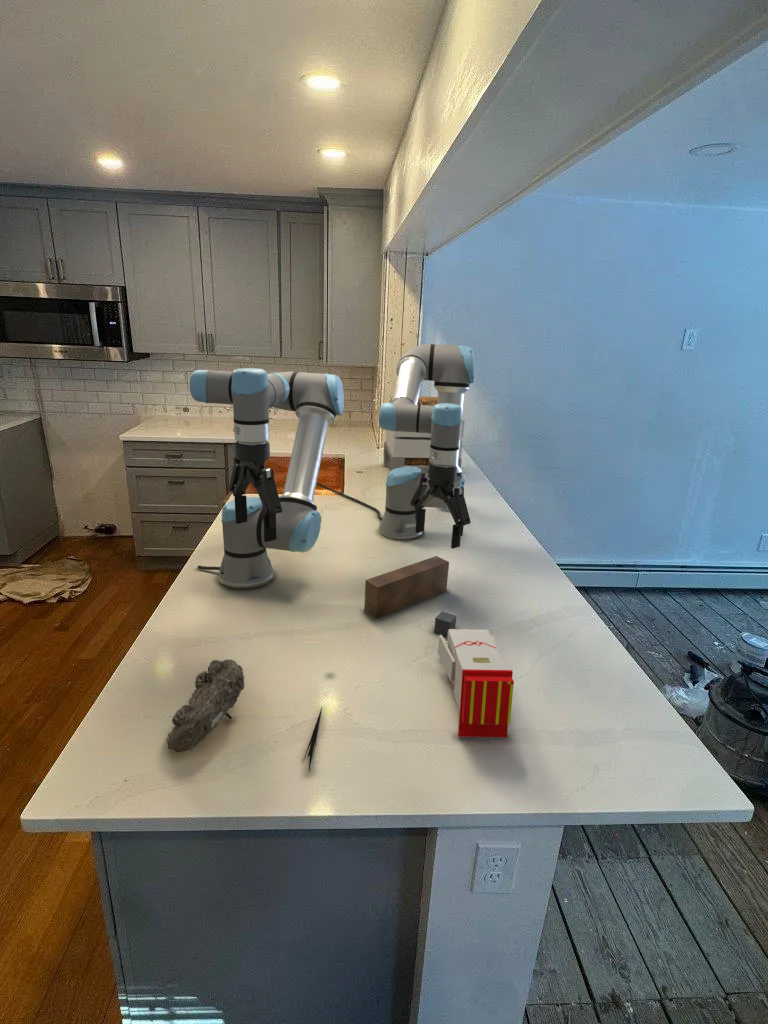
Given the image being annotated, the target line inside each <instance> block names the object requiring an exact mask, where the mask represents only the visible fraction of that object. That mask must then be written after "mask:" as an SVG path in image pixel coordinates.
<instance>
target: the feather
mask: <svg viewBox="0 0 768 1024" xmlns="http://www.w3.org/2000/svg"><path fill="white" fill-rule="evenodd" d="M329 675H330V676H331V675H332V674H331V673H330V674H329ZM322 710H323V707H321V708H320V710H319V713H318V716H317V719H316V723H315V725H314V728H313V731H312V733H311V737H310V739H309V742H308V745H307V748H306V751H305V754H304V757H303V760H302V763H301V767H302V765H303V763H304V761H305V758H308V759H309V760H308V762H307V763H308V764H307V766H308V771H310V770H311V766H312V765H311V764H312V760H313V757H315V756H314V755H315V751H316V749H315V746H317V739H318V733H319V729H320V722H321V717H322V712H323V711H322ZM313 754H314V755H313ZM306 755H307V757H306Z"/></svg>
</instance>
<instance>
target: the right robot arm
mask: <svg viewBox="0 0 768 1024" xmlns="http://www.w3.org/2000/svg"><path fill="white" fill-rule="evenodd" d="M474 356H475V355H474V350H473V348H472V347H470V346H467V345H460V344H438V343H437V344H436V343H435V344H434V343H433V344H432V343H423V344H419V345H416V346H413V347H412V348H410V349H408V350H407V351H406V352H405V353H404V354H403V355H402V356H401V357H400V358H399V360H398V362H397V365H396V369H395V372H396V376H397V377H396V380H395V385H394V388H393V392H392V395H391V398H392V399H391V398H390V400H391V402H383V403H382V404H381V405H380V408H379V418H378V419H379V421H378V423H379V424H378V425H379V427H380V429H381V430H382V431H386V430H389V431H394V432H395V431H401V432H417V433H431V444H430V456H429V462H430V464H429V465H428V466H427V472H422V469H421V468H420V467H419V466H418V467H417V466H404V467H400V468H396V469H393V470H391V471H390V470H389V471H388V473H387V475H386V482H385V487H386V488H385V504H384V505H385V507H384V508H385V509H384V513H383V515H382V516H381V512H380V510H379V509H377V508H376V507H374V506H372V505H370V504H368V503H365V502H364V501H361V500H359V499H357V498H354V497H352V496H350V495H347V494H345V493H342V492H340V491H338V490H335V489H333V488H331V487H328V486H327V485H324V484H322V483H320V482H318V481H317V484H316V486H319V487H321V488H324V489H325V490H328V491H330V492H332V493H335V494H337V495H339V496H342V497H344V498H346V499H349V500H351V501H354V502H355V503H358V504H359V505H362V506H365V507H366V508H368V509H371V510H373V511H375V512H376V513H377V518H378V519H379V520H380V521H381V522H379V527H378V533H379V534H380V535H381V536H382V537H385V538H387V539H389V540H395V541H410V540H415V539H418V538H420V537H421V536H422V535H423V532H425V526H426V525H425V523H426V509H425V508H433V509H442V508H444V509H449V511H448V512H449V513H450V515H451V517H452V519H453V522H454V523H455V524H452V531H451V543H450V549H452V550H454V549H457V548H460V547H461V540H462V539H461V538H462V537H463V535H464V526H468V525H470V524H471V523H472V521H471V517H470V514H469V510H468V505H467V502H466V498H465V483H466V476H465V475H463V474H462V472H463V470H462V468H461V469H460V468H459V467H458V457H459V446H460V439H461V438H460V434H461V423H462V419H463V410H464V399H465V393H466V392H467V391H469V389H470V384H474V383H475V358H474ZM423 381H430V382H433V387H434V389H435V391H437V397H438V400H437V404H436V405H435V406H428V405H417V402H418V397H420V391H421V386H422V382H423Z"/></svg>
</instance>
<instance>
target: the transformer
mask: <svg viewBox="0 0 768 1024" xmlns="http://www.w3.org/2000/svg"><path fill="white" fill-rule="evenodd" d="M391 399H392V397H391V398H390V400H389V402H391ZM437 400H438V396H419V397H418V402H417V405H428V406H435V405H436V404H437ZM389 402H388V403H389ZM464 429H465V419H464V418H462V423H461V434H460V446H459V457H458V467H459V468H460V469H461V470H462V461H463V460H462V453H463V442H464V441H463V440H462V439H463V438H464V431H465V430H464ZM430 444H431V433H417V432H401V431H395V432H394V431H389V430H385V438H384V442H383V466H384V467H388V468H389V472H390V471H391V470H393V469H396V468H400V467H405V466H406V467H417V466H418V467H429V464H430V462H429V456H430Z"/></svg>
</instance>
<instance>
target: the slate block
mask: <svg viewBox="0 0 768 1024" xmlns="http://www.w3.org/2000/svg"><path fill="white" fill-rule="evenodd" d="M457 618H458V617H457V615H456V614H453V613H449V612H447V611H443V610H441V611H440V612H439V613H438V614H437V615H436V616H435V618H434V627H433V628H434V629H433V633H436V634H439V635H442V636H446V637H448V629H456V625H457Z"/></svg>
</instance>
